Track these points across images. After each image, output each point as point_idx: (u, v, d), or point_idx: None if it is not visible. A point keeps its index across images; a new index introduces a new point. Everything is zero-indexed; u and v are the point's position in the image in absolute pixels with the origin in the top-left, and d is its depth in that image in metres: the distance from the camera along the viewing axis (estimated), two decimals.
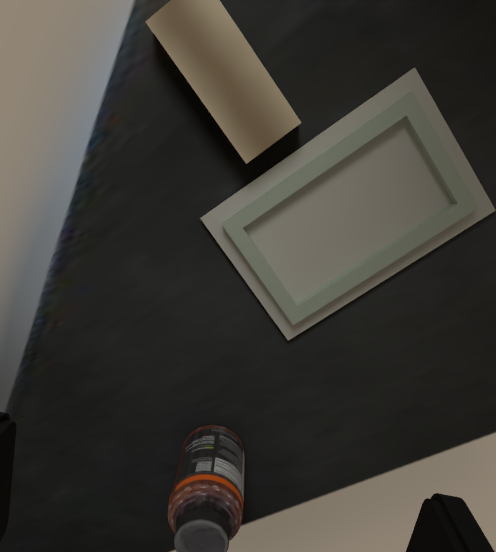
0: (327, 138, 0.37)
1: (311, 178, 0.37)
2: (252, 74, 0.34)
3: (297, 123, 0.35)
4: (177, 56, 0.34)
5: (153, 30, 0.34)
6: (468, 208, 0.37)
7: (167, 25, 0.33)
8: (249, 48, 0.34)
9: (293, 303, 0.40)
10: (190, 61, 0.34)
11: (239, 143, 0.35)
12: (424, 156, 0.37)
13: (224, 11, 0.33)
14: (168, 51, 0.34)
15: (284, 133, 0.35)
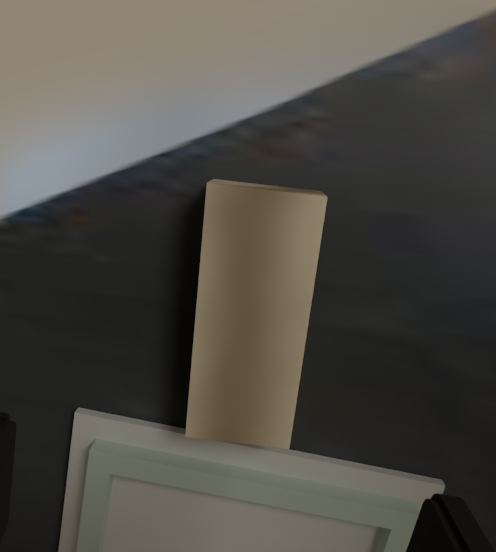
0: (293, 465, 0.25)
1: (235, 496, 0.25)
2: (281, 354, 0.21)
3: (284, 446, 0.23)
4: (210, 257, 0.20)
5: (207, 201, 0.20)
6: None
7: (231, 212, 0.20)
8: (305, 325, 0.21)
9: None
10: (221, 276, 0.21)
11: (197, 410, 0.22)
12: None
13: (314, 261, 0.20)
14: (204, 241, 0.20)
15: (259, 444, 0.23)
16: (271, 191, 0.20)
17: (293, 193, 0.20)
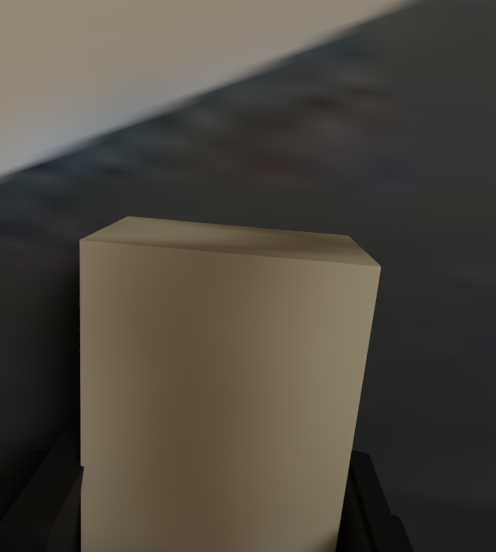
0: None
1: None
2: None
3: None
4: (104, 410, 0.09)
5: (86, 285, 0.08)
6: None
7: (145, 309, 0.08)
8: (329, 548, 0.09)
9: None
10: (133, 450, 0.09)
11: None
12: None
13: (349, 416, 0.09)
14: (86, 375, 0.09)
15: None
16: (241, 257, 0.08)
17: (296, 260, 0.08)
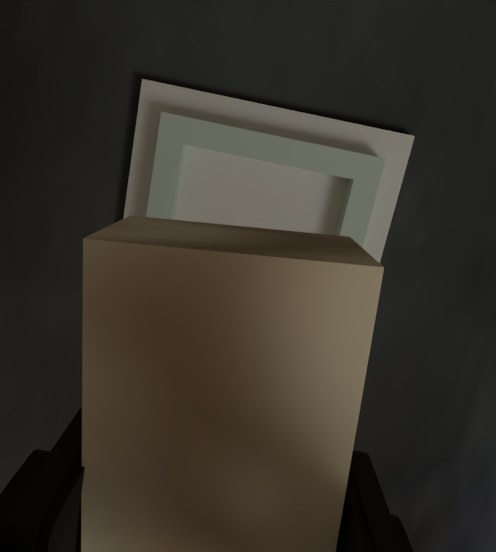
0: None
1: None
2: None
3: None
4: (105, 409, 0.09)
5: (88, 283, 0.08)
6: None
7: (148, 308, 0.08)
8: (329, 549, 0.09)
9: (192, 143, 0.22)
10: (135, 449, 0.09)
11: None
12: None
13: (351, 416, 0.09)
14: (88, 374, 0.09)
15: None
16: (244, 256, 0.08)
17: (299, 260, 0.08)
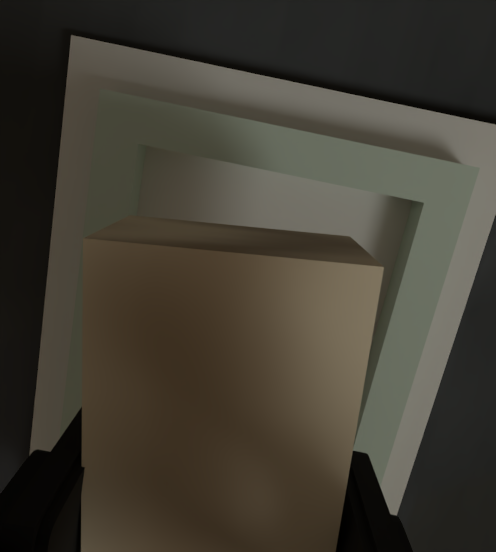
0: (390, 479, 0.16)
1: (367, 415, 0.15)
2: None
3: None
4: (105, 408, 0.09)
5: (88, 283, 0.08)
6: None
7: (147, 308, 0.08)
8: (329, 548, 0.09)
9: (153, 142, 0.13)
10: (134, 449, 0.09)
11: None
12: None
13: (351, 416, 0.09)
14: (88, 374, 0.08)
15: None
16: (244, 256, 0.08)
17: (299, 260, 0.08)
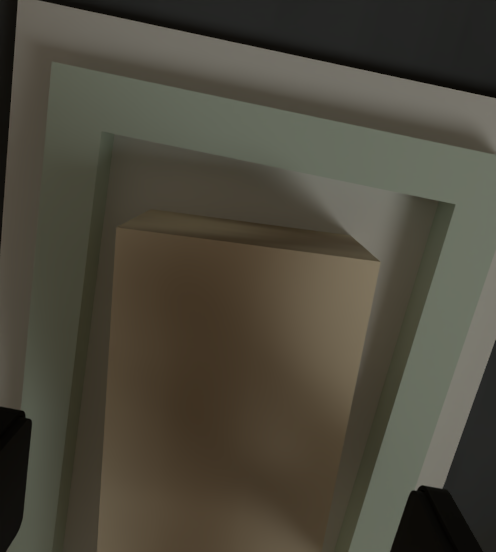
0: None
1: (382, 459, 0.12)
2: None
3: None
4: (128, 380, 0.10)
5: (119, 267, 0.09)
6: None
7: (170, 291, 0.09)
8: (323, 514, 0.10)
9: (120, 129, 0.10)
10: (153, 418, 0.10)
11: None
12: None
13: (347, 394, 0.10)
14: (114, 349, 0.10)
15: None
16: (258, 248, 0.09)
17: (306, 253, 0.09)
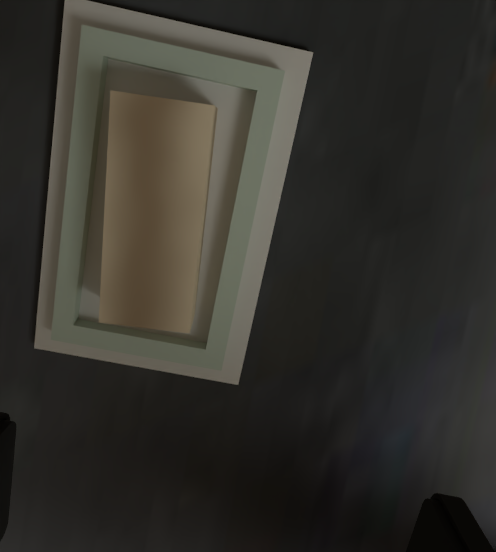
0: (255, 263, 0.28)
1: (234, 215, 0.27)
2: (180, 247, 0.25)
3: (185, 331, 0.26)
4: (115, 158, 0.24)
5: (111, 107, 0.23)
6: (58, 330, 0.28)
7: (132, 117, 0.23)
8: (199, 221, 0.25)
9: (111, 54, 0.24)
10: (126, 175, 0.24)
11: (108, 298, 0.26)
12: (150, 330, 0.29)
13: (205, 163, 0.24)
14: (110, 143, 0.23)
15: (163, 328, 0.26)
16: (166, 99, 0.23)
17: (185, 101, 0.23)
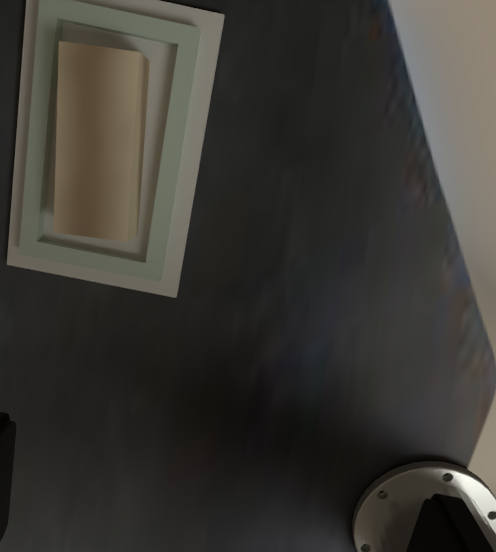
0: (185, 191, 0.34)
1: (164, 147, 0.33)
2: (116, 168, 0.31)
3: (123, 239, 0.32)
4: (64, 95, 0.30)
5: (60, 54, 0.30)
6: (25, 246, 0.35)
7: (76, 62, 0.30)
8: (131, 146, 0.31)
9: (62, 17, 0.31)
10: (72, 109, 0.30)
11: (61, 211, 0.32)
12: (101, 249, 0.36)
13: (134, 98, 0.30)
14: (59, 83, 0.30)
15: (106, 237, 0.32)
16: (102, 47, 0.29)
17: (117, 49, 0.29)
